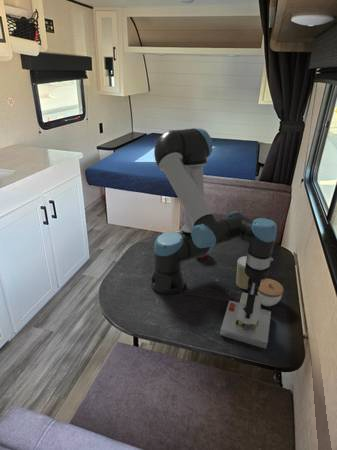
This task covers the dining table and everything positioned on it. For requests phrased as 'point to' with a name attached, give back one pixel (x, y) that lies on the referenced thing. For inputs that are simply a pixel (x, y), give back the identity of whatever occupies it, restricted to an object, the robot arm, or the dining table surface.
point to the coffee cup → (242, 273)
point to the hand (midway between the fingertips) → (247, 316)
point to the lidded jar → (270, 292)
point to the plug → (243, 304)
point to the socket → (246, 327)
